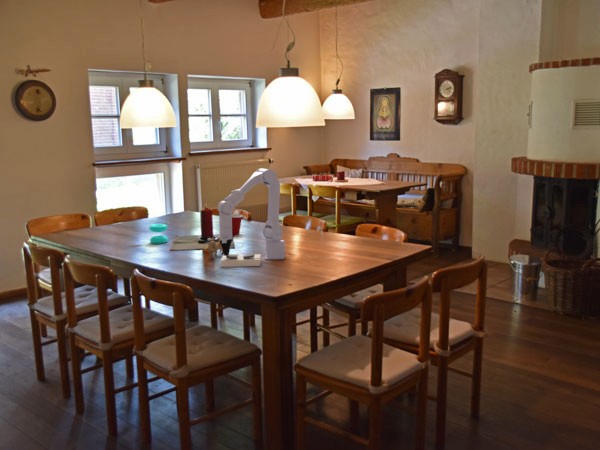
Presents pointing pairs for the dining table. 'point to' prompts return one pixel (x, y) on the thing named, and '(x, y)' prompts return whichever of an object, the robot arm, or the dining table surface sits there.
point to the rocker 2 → (249, 256)
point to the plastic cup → (236, 223)
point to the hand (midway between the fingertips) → (226, 255)
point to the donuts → (159, 238)
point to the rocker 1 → (232, 256)
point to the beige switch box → (241, 261)
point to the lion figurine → (214, 248)
